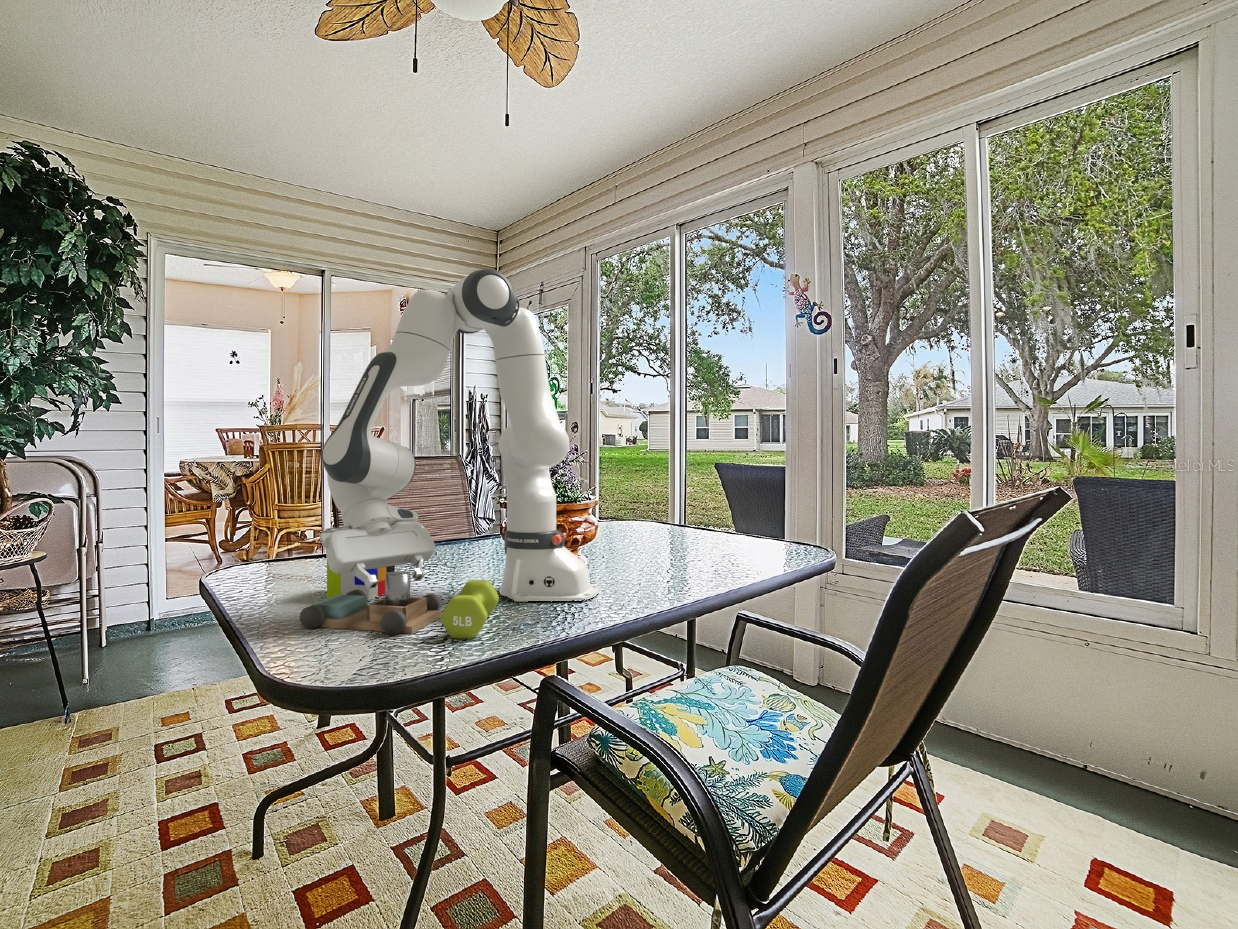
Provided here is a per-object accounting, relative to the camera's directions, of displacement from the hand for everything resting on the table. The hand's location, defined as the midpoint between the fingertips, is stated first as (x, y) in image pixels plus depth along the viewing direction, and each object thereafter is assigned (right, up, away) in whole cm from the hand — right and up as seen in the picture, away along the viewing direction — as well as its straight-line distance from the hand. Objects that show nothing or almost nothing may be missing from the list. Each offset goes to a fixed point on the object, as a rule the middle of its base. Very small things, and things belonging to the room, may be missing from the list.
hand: (397, 582), depth 115 cm
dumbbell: (+14, -8, -2) cm, 16 cm away
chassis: (-5, -8, +1) cm, 9 cm away
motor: (0, -6, 0) cm, 6 cm away
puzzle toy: (-16, -7, +23) cm, 29 cm away
